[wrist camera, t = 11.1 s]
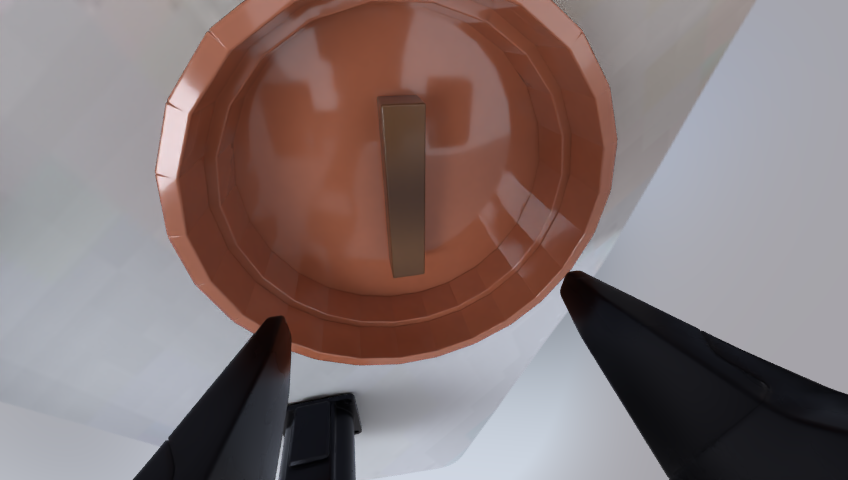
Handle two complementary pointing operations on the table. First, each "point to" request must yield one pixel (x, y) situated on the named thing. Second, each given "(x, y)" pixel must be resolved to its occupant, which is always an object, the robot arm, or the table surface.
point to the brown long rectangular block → (404, 180)
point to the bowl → (363, 176)
